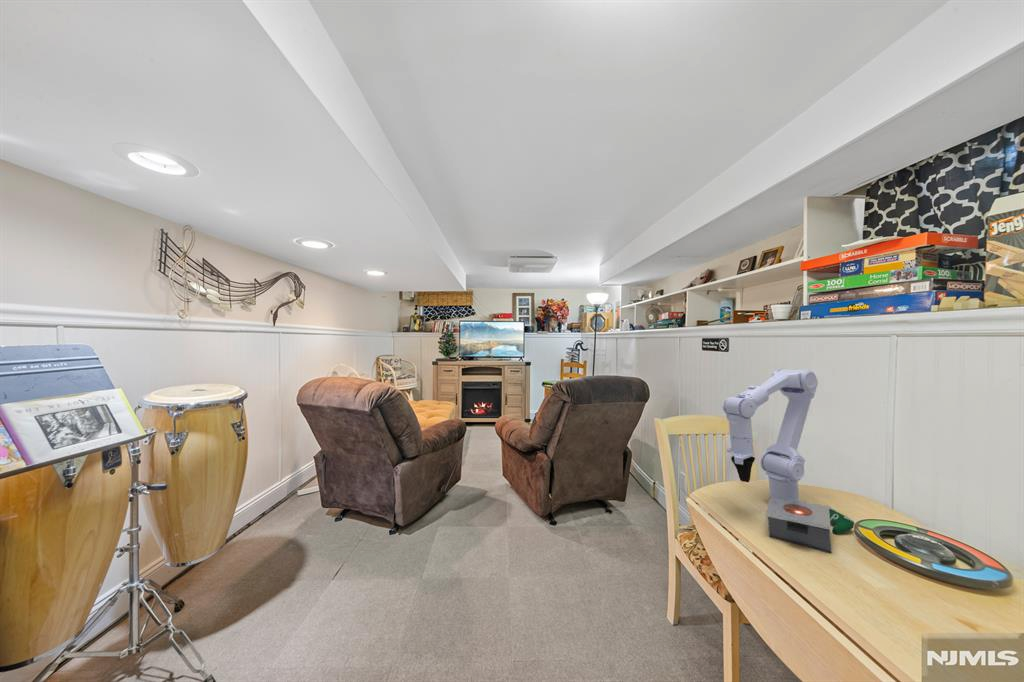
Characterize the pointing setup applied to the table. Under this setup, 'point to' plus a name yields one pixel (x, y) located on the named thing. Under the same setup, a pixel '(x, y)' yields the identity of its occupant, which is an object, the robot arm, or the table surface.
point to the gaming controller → (840, 522)
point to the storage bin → (800, 534)
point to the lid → (799, 512)
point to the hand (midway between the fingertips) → (745, 481)
